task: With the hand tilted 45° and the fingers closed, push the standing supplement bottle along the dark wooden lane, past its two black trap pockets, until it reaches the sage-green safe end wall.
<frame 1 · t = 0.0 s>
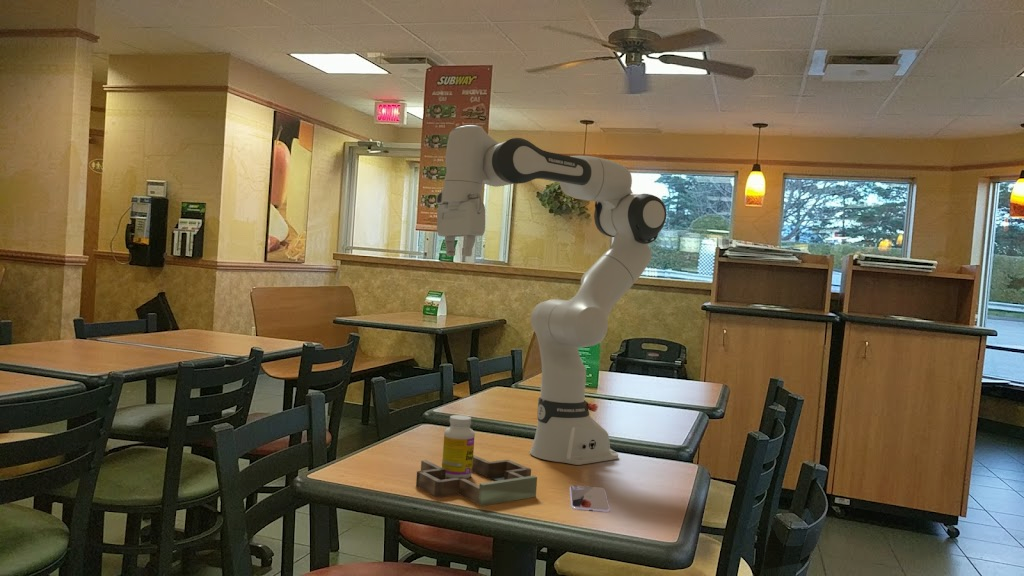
hand: (458, 256, 166), 48 cm above the table, tool pointing down, fingers open, 8 cm apart
supplement bottle: (456, 476, 157), on the table
mobile phone: (588, 501, 147), on the table
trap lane: (471, 483, 153), on the table
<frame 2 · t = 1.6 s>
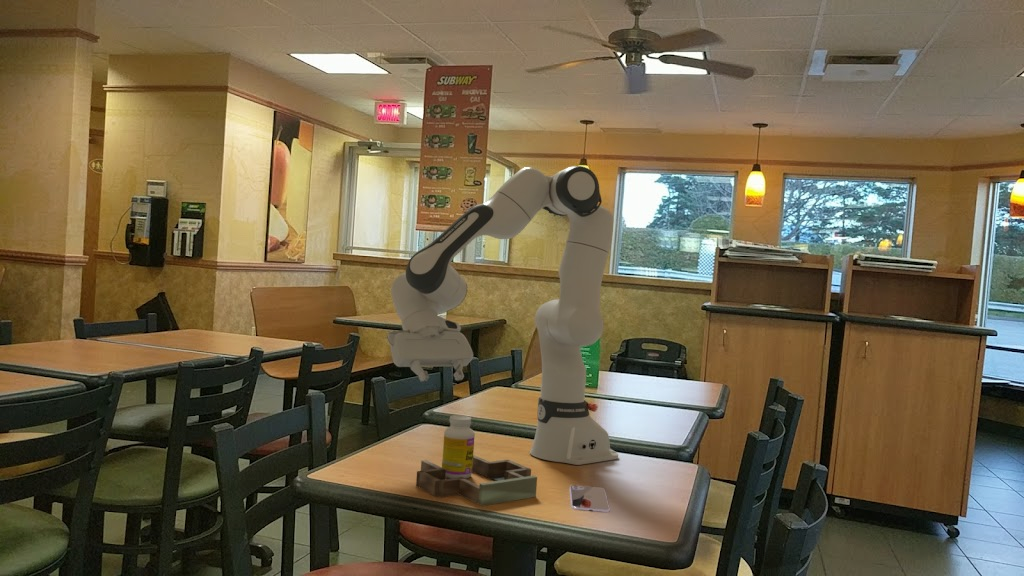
hand: (442, 379, 163), 20 cm above the table, tool tilted 45°, fingers open, 8 cm apart
nothing on the table moved.
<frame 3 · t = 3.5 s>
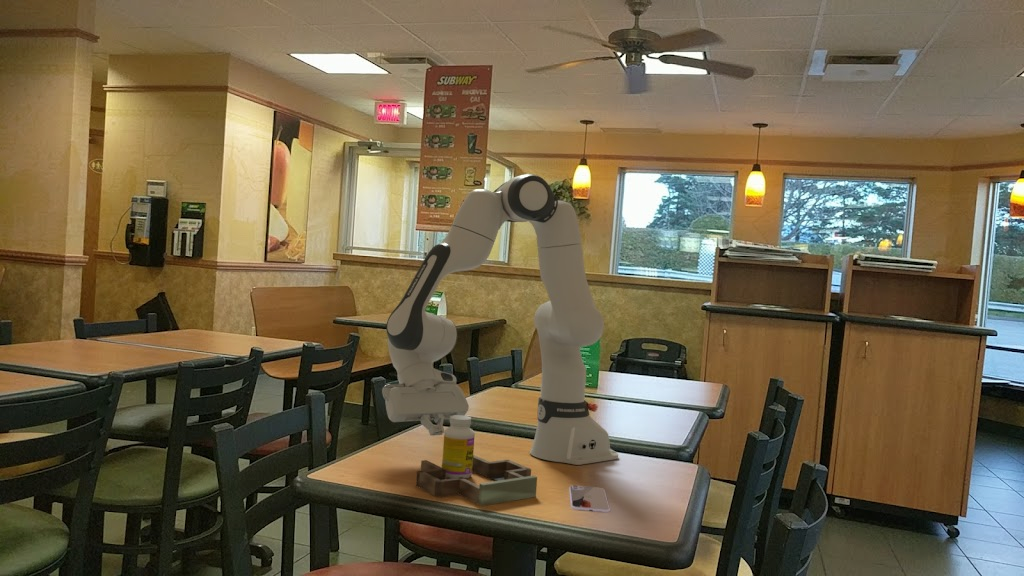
hand: (437, 433, 163), 7 cm above the table, tool tilted 45°, fingers closed
nothing on the table moved.
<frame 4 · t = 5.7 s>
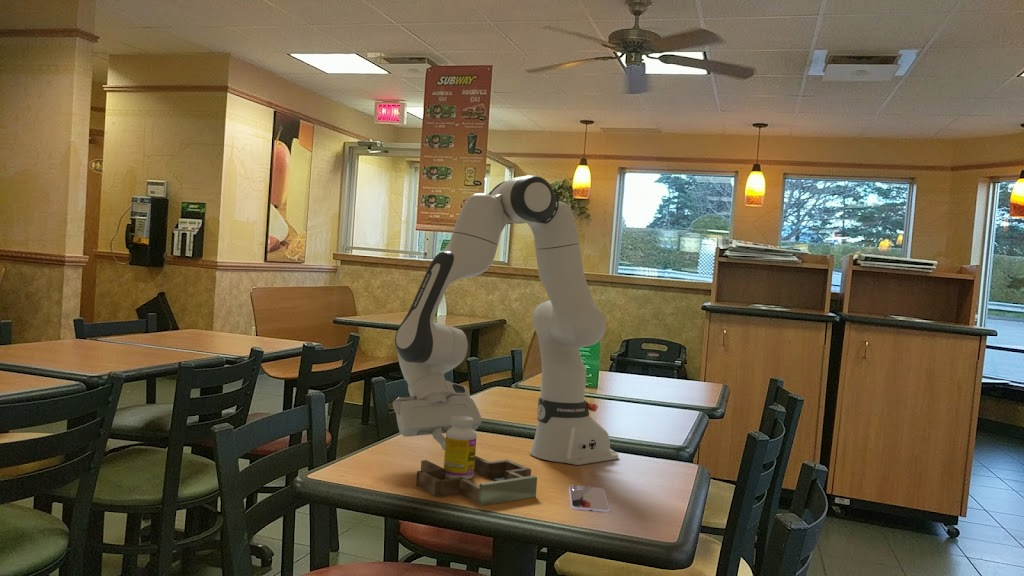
hand: (450, 448, 160), 5 cm above the table, tool tilted 45°, fingers closed, pressing on supplement bottle
supplement bottle: (458, 477, 157), on the table, touching gripper
everything else where it was.
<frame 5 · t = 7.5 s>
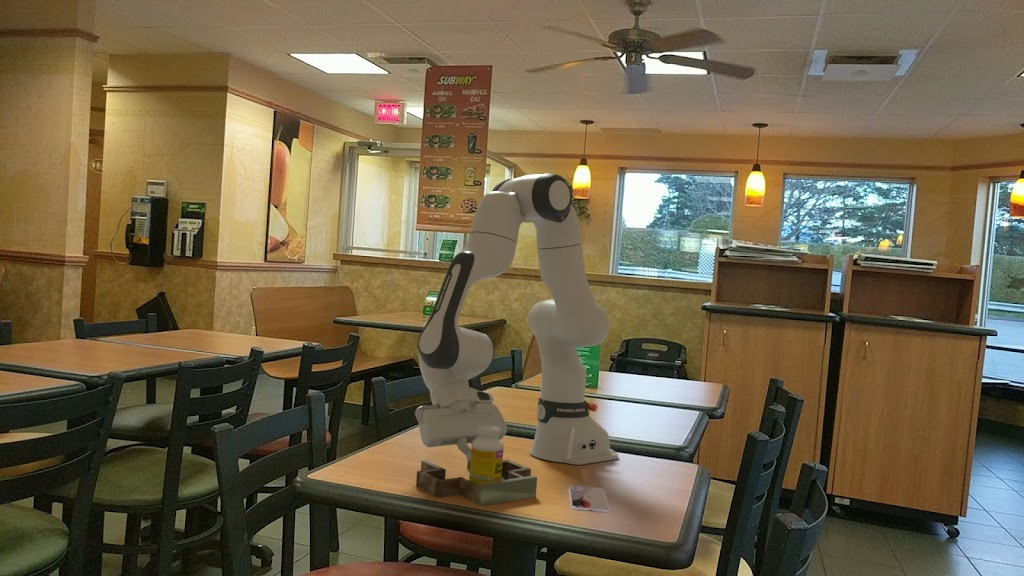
hand: (475, 459, 152), 5 cm above the table, tool tilted 45°, fingers closed, pressing on supplement bottle
supplement bottle: (484, 490, 149), on the table, touching gripper
everything else where it was.
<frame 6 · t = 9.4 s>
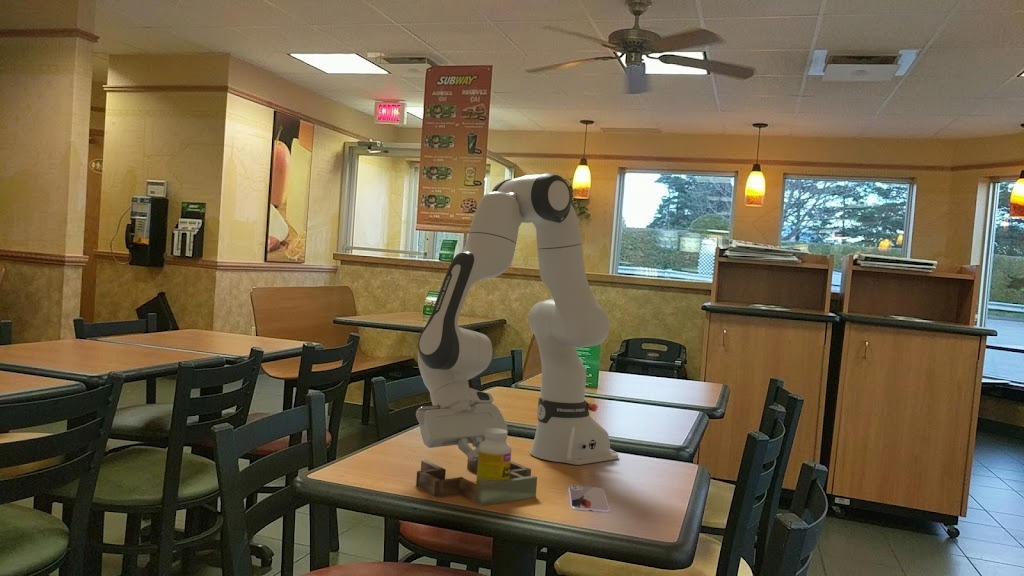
hand: (476, 459, 152), 5 cm above the table, tool tilted 45°, fingers closed
supplement bottle: (491, 494, 147), on the table
everything else where it was.
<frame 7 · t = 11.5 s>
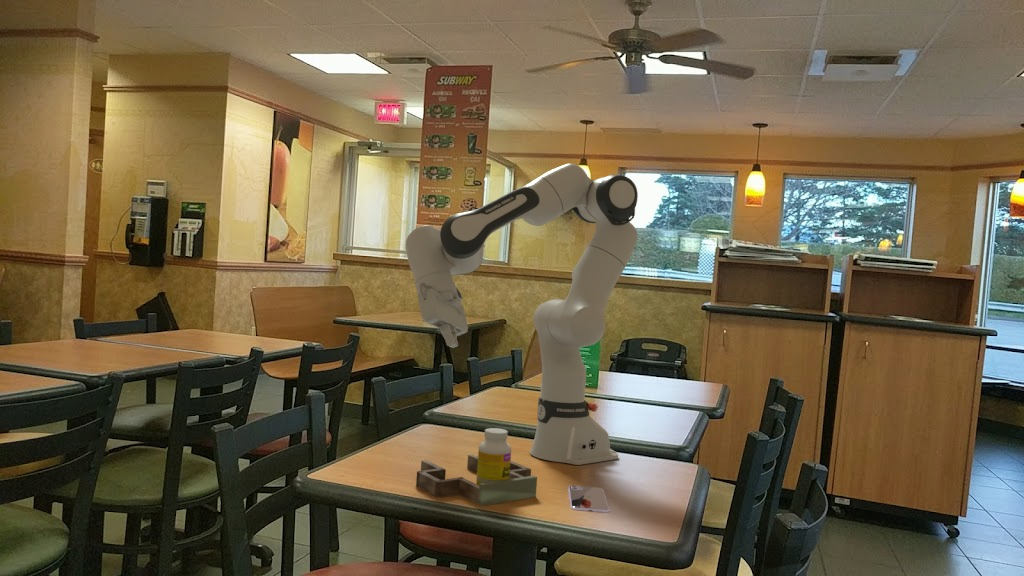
hand: (452, 346, 164), 27 cm above the table, tool tilted 30°, fingers closed
nothing on the table moved.
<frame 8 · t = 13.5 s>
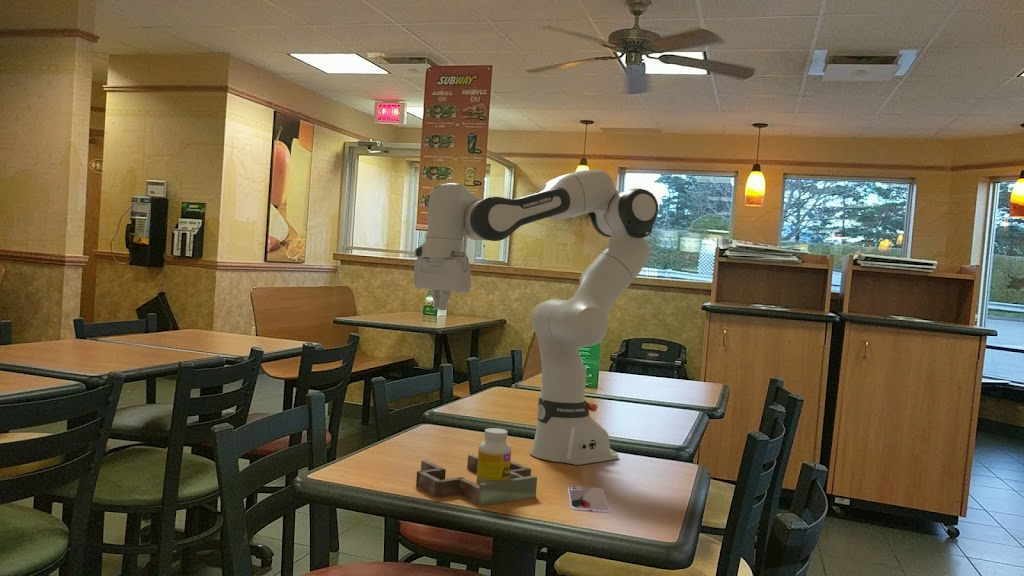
hand: (439, 309, 171), 35 cm above the table, tool pointing down, fingers closed
nothing on the table moved.
at the end: supplement bottle inside the target area (0.8 cm from its centre), on the table; supplement bottle tilted 0°; supplement bottle moved 13.6 cm from its start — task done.
